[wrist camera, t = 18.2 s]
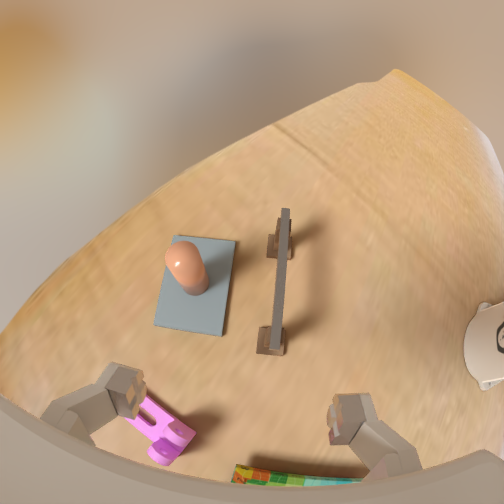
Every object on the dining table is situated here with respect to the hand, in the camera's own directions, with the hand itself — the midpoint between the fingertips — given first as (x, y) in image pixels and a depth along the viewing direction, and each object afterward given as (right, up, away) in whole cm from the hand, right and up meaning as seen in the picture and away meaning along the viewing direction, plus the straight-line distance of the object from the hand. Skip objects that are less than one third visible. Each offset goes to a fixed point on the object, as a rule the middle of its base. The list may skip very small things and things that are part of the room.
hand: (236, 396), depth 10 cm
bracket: (-15, -20, +26) cm, 36 cm away
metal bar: (+4, +3, +27) cm, 28 cm away
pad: (-9, +1, +35) cm, 36 cm away
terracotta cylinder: (-8, +1, +34) cm, 35 cm away
